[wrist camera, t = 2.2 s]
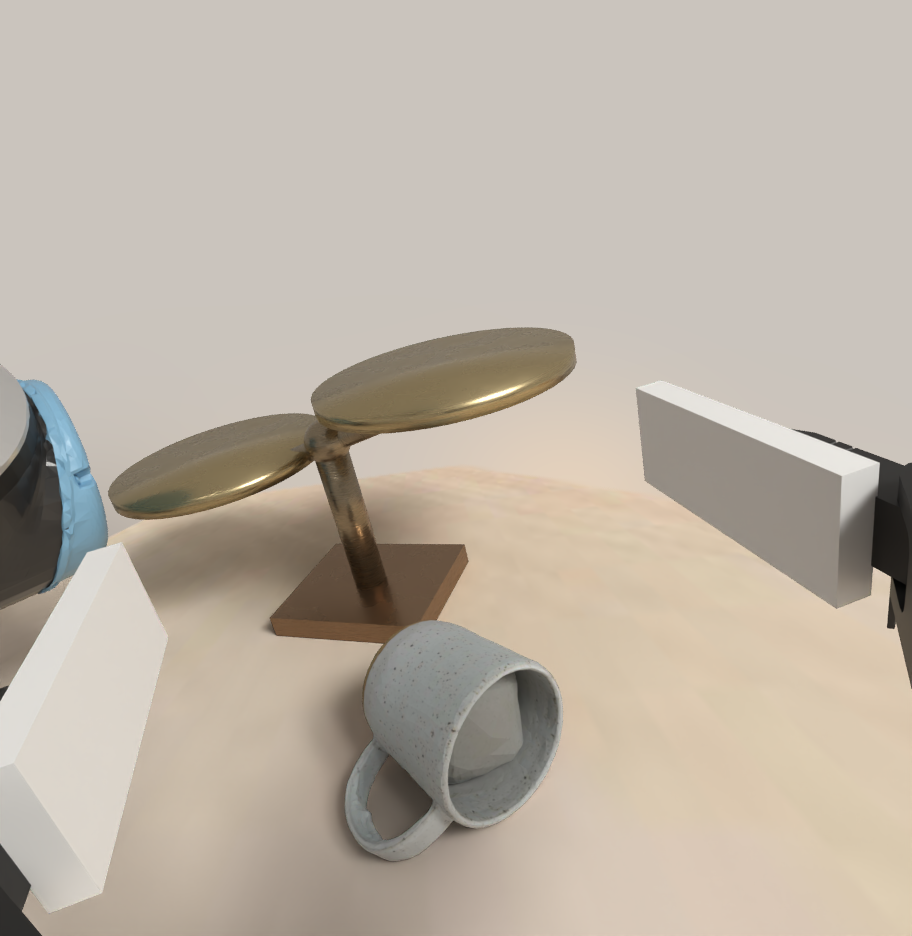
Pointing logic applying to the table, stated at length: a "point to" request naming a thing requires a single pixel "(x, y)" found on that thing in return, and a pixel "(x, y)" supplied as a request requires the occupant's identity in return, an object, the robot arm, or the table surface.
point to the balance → (328, 442)
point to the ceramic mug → (453, 731)
